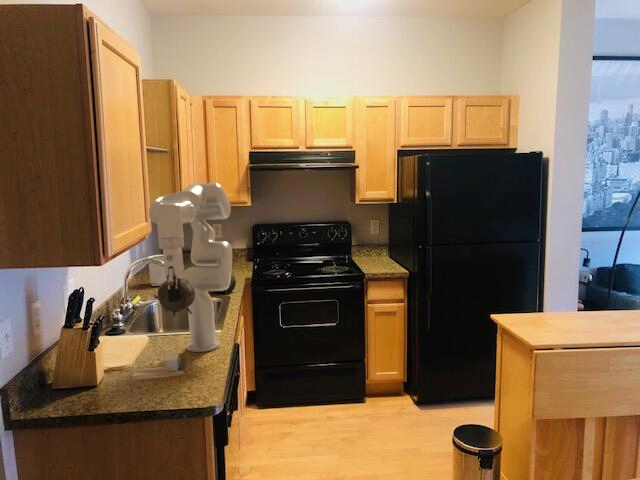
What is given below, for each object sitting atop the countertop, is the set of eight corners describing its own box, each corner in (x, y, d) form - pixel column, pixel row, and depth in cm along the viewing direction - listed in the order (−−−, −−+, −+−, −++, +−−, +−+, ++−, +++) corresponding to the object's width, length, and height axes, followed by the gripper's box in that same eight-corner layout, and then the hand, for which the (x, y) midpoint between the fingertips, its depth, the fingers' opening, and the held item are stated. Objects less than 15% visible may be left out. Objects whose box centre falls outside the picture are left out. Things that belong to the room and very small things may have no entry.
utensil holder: (161, 280, 295) (159, 253, 292) (180, 282, 289) (178, 254, 286) (144, 286, 281) (142, 257, 279) (163, 288, 276) (161, 259, 273)
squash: (224, 287, 250) (231, 263, 258) (200, 286, 256) (208, 263, 263) (235, 299, 261) (242, 275, 269) (213, 298, 267) (220, 275, 274)
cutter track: (135, 373, 157) (134, 361, 156) (186, 368, 160) (185, 356, 159) (132, 380, 152) (131, 367, 151) (184, 374, 155) (183, 362, 154)
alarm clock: (196, 312, 151) (193, 263, 148) (190, 317, 145) (186, 266, 143) (164, 311, 152) (160, 263, 150) (157, 317, 147) (152, 266, 144)
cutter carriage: (167, 365, 158) (166, 355, 158) (181, 364, 159) (180, 353, 158) (165, 371, 153) (164, 360, 153) (179, 370, 154) (179, 359, 154)
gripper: (180, 246, 137) (185, 305, 140) (186, 237, 154) (190, 290, 157) (154, 247, 136) (159, 306, 139) (163, 239, 153) (167, 292, 156)
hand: (175, 297), depth 148 cm, fingers closed on alarm clock, 6 cm apart
